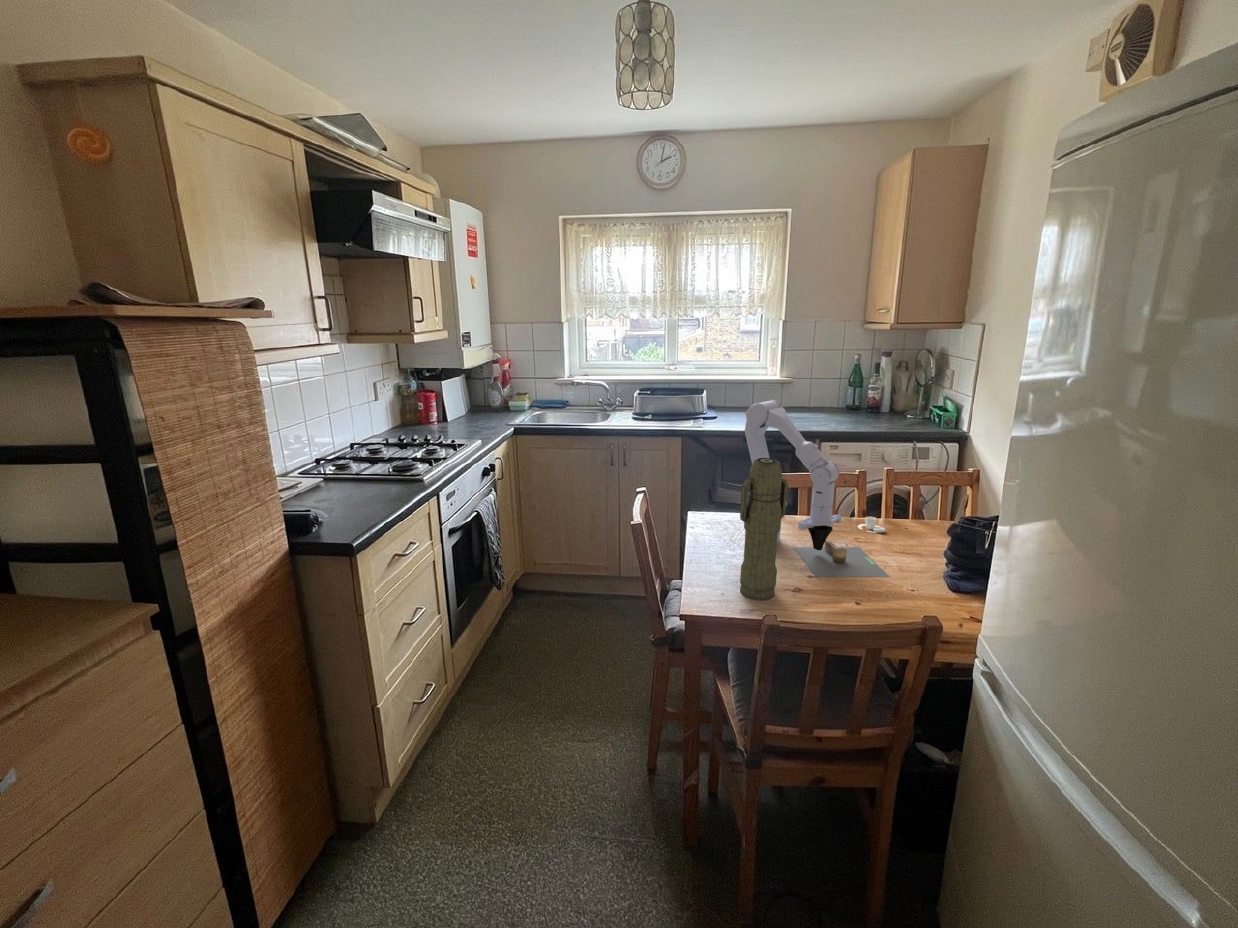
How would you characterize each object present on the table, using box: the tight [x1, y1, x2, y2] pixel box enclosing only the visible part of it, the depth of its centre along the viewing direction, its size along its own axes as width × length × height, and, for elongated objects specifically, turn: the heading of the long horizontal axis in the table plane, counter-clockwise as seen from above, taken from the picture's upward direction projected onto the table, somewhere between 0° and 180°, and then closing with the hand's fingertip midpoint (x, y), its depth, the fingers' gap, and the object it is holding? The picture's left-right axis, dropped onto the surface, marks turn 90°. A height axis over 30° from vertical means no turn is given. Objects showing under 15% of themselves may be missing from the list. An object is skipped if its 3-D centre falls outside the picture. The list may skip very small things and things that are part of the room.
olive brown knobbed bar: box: [823, 539, 847, 562], centre depth 165 cm, size 10×4×3 cm, turn 6°
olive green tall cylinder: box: [739, 457, 789, 601], centre depth 142 cm, size 9×12×35 cm
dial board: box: [792, 546, 891, 578], centre depth 162 cm, size 20×20×1 cm
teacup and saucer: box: [857, 516, 886, 534], centre depth 189 cm, size 9×8×4 cm
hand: (817, 548), depth 166 cm, fingers closed
